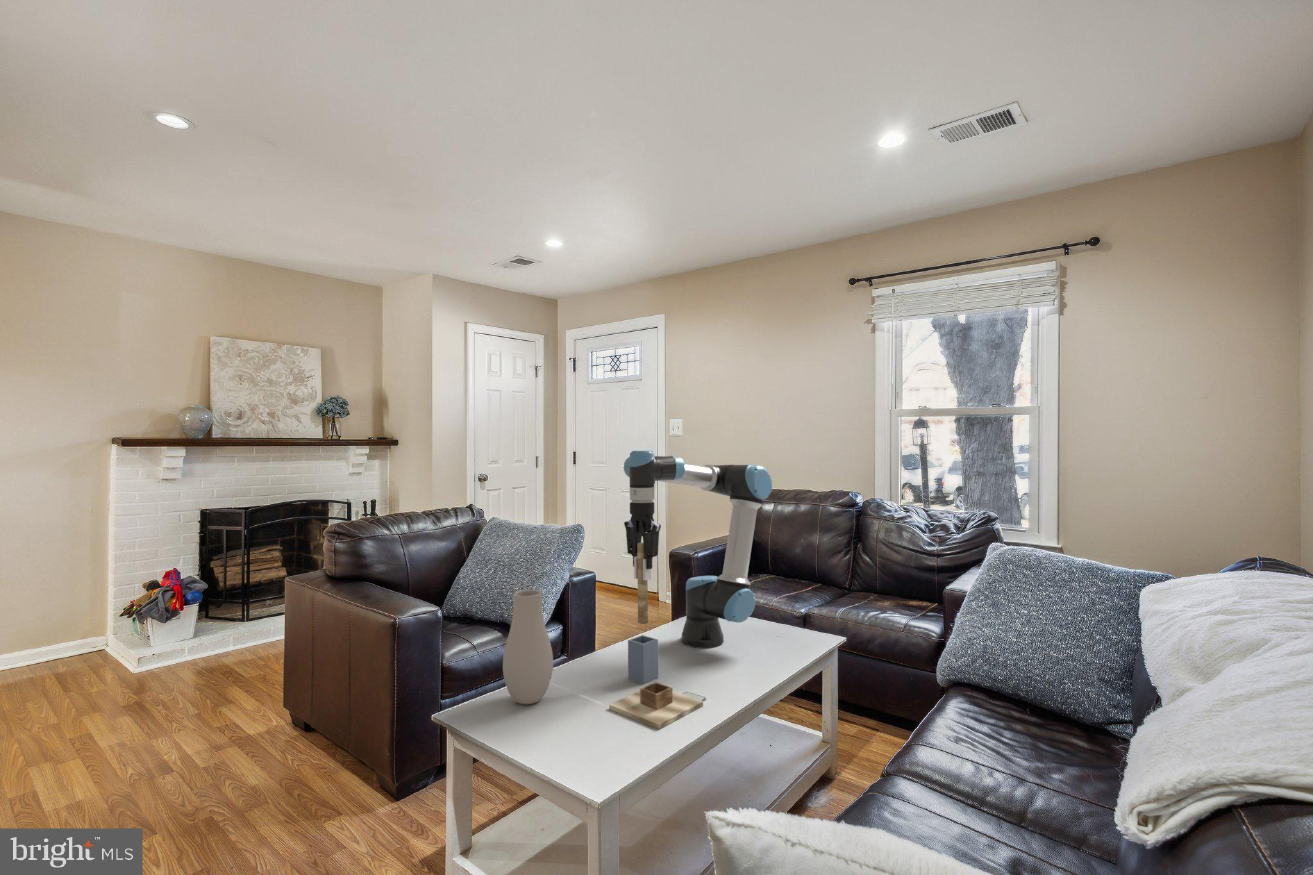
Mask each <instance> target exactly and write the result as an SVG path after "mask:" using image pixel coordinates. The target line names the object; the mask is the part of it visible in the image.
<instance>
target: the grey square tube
mask: <svg viewBox="0 0 1313 875" xmlns="http://www.w3.org/2000/svg"><path fill="white" fill-rule="evenodd" d="M627 660H628V662H627V664H628V665H627V673H628V674H627V675H628V676H627V677H628V680H630V681H632V682H635V683H639V684H640V685H646V684H648V683H650V682H653V681H655V680H657V679H659V639H658V638H654V637H651V636H647V635H643V634H642V635H639V636H636V637H633V638H631V639H629V640H627Z"/></svg>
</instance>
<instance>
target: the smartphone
mask: <svg viewBox="0 0 1313 875" xmlns="http://www.w3.org/2000/svg"><path fill="white" fill-rule="evenodd" d="M681 694H683V695H686V696H689V697H691V698H694V699H697V700H700V701H703V702H705V701H706V700H707V698H706V696H702V695H699V694H696V693H692V692H689V691H684V692H682V693H681Z"/></svg>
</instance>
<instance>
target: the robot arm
mask: <svg viewBox="0 0 1313 875" xmlns="http://www.w3.org/2000/svg"><path fill="white" fill-rule="evenodd" d="M623 471H624V474H625V476H627V477H628V478H629V500H630V501H631V502H629V513H630V515H631V517H630V519H629V520H628V521H624V522H623V524H624V528H625V533H626V534H625V535H626V536H625V537H626V549H627V554H630V555H631V556H632V567H633V568H634V569H633V570H634V575H633V576H634V579H635V580H638V556H637V543H640V542H643V544H644V552H645V557H643V580H644V581H645V580H648V581H649V580H651V579H652V569H653V558H654V557H657V556H658V555H659V543H660V542H659V540H660V531H661V527H662V524H660V523H656V522H655V519H654V514H655V502H654V500H655V482H663V483H669V484H676V485H684V486H690V487H698V488H700V489H701V490H702V491H704V492H705V491H706V492H711V493H715V494H719V495H723V496H726V497H729V502H730V503H731V504H732V509H731V517H730V522H729V529H728V536H727V542H726V549H725V554H724V561H723V562H724V563H723V568H722V573H721V574H720V575H718V576H717V575H702V576H701V575H699V576H695V577H690V578H688V579H687V581H686V582H685V617H686V618H685V623H684V625H683V627H682V628H683V629H682V633H681V642H682V644H684V645H685V646H688V647H693V648H697V649H698V648H703V649H709V648H714V647H715V648H716V647H718V646H720V645H723V644H724V641H725V640H724V638H725V637H724V636H725V635H724V633H723V630H722V627H721V623H720V621H719V619H722V620H725V621H727V622H732V623H743V622H745V621H747V620H748V618H749V617H751V616H752V614H753V612H754V611H755V607H756V597H755V593H754V592H753V591H752V590H751V583H752V582H750V581H749V579H748V575H749V574H748V573H749V566H750V561H751V553H752V547H753V540H754V533H755V529H756V527H755V526H756V519H757V513H758V510H759V509H760V508H761V507H762V506H763V502H764V500H766V499H768V498H769V497H770V495H771V493H772V489H773V480H772V478H771V475H770V473H769V471H768V470H767V469H766V468H765V467H764V466H762V465H757V464H756V465H755V464H719V465H717V464H716V465H715V464H704V465H696V464H691V463H687V462H686V463H685V462H684V460H683V458H682V457H680V456H677V455H676V456H675V455H666V456H665V455H663V456H662V455H660V456H659V455H655V453H654V451H653V450H632V451H631V452H630V453H629V457H627V458H626V459H625V461H624V464H623Z"/></svg>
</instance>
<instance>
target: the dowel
mask: <svg viewBox="0 0 1313 875" xmlns="http://www.w3.org/2000/svg"><path fill="white" fill-rule="evenodd" d="M637 556H638V579H637V623H638V625H639V624H640V625H646V624H648V623H649V612H648V611H649V603H648V602H649V601H648V600H649V597H648V595H649V594H648V591H649V589H648V588H649V587H648V584H649V583H648V582H649V580H645V581H644V580H643V557H645V552H644V544H643V541H641V542H640V543H637Z"/></svg>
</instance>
